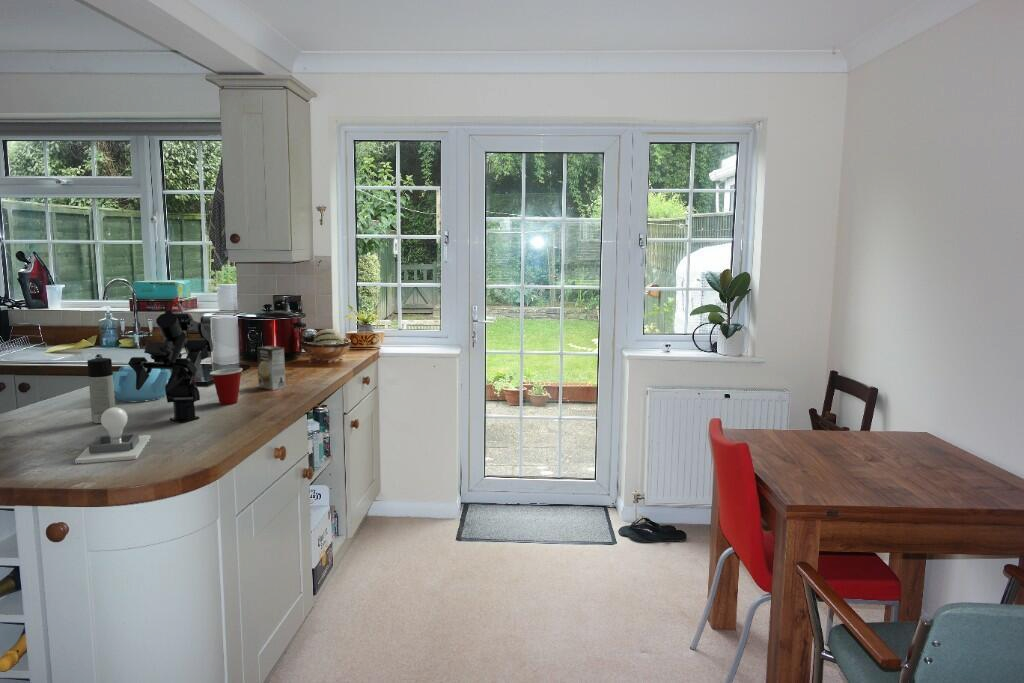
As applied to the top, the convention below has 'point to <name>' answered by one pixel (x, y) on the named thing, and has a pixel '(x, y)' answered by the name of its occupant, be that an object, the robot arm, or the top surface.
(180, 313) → the robot arm
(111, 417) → the lightbulb
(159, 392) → the teapot
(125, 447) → the bulb holder
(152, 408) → the top surface
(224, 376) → the plastic cup
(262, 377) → the coffee box
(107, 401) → the spray can
